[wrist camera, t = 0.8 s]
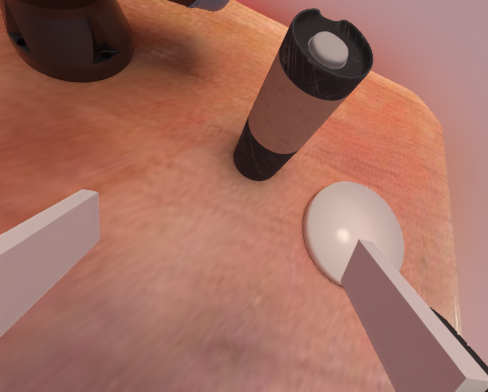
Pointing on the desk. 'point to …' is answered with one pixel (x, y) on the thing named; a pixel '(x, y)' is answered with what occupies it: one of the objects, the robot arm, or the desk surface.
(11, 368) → the desk surface
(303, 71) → the travel mug
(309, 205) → the white round disc
